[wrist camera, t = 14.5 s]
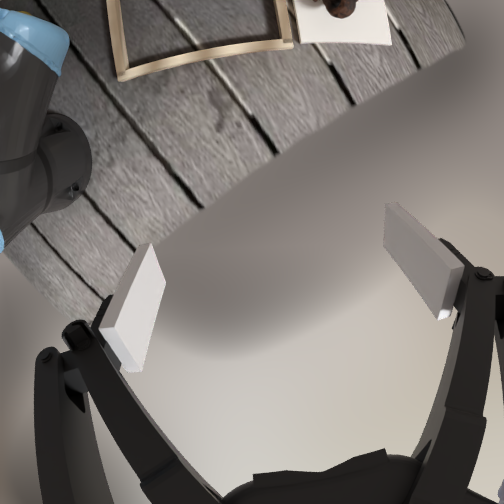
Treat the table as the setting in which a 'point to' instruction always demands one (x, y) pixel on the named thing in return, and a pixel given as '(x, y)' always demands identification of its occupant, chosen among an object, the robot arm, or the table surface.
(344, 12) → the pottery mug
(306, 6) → the ceramic tile
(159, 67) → the frame
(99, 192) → the table surface
